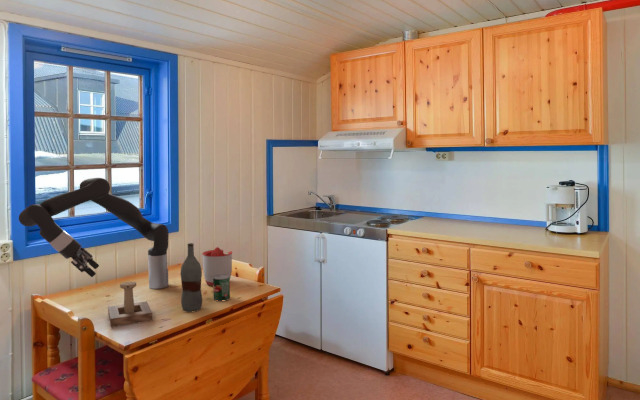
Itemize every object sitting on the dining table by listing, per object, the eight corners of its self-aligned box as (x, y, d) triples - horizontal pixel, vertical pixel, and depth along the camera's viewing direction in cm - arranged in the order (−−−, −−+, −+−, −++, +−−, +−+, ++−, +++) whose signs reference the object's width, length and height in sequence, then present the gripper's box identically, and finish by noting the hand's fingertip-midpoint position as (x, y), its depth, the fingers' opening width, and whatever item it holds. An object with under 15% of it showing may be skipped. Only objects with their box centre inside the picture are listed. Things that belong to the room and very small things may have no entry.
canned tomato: (233, 297, 226) (232, 275, 225) (224, 302, 219) (224, 279, 218) (218, 295, 229) (218, 273, 228) (210, 300, 221) (209, 277, 220)
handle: (121, 316, 199) (120, 282, 198) (137, 314, 201) (136, 281, 200) (121, 320, 195) (119, 285, 193) (137, 318, 197) (136, 284, 195)
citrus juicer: (240, 281, 253) (240, 245, 250) (217, 289, 238) (217, 251, 236) (220, 277, 261) (219, 242, 259) (196, 284, 246) (195, 247, 244)
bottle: (188, 314, 203) (187, 246, 199) (177, 309, 209) (175, 243, 206) (206, 308, 210) (205, 243, 206) (195, 304, 216) (193, 240, 212)
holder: (147, 308, 209) (146, 301, 208) (152, 320, 195) (152, 312, 194) (108, 314, 201) (108, 306, 201) (110, 327, 187) (110, 318, 187)
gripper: (69, 244, 180) (100, 272, 186) (76, 233, 193) (105, 259, 199) (53, 256, 180) (85, 284, 186) (61, 244, 193) (91, 270, 199)
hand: (95, 271), depth 193 cm, fingers open, 8 cm apart
